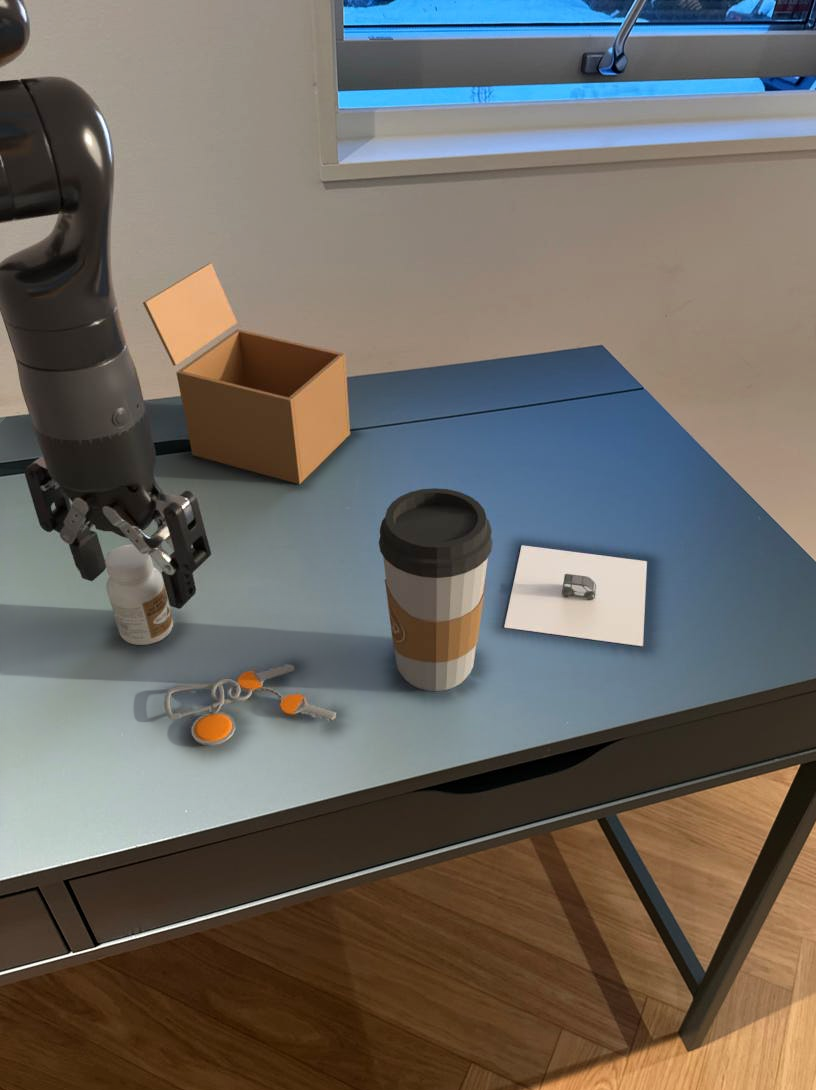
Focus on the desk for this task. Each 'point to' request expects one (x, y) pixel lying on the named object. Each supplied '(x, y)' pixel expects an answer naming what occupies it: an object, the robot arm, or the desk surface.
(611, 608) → the white square mat
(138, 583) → the pill bottle
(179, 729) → the desk surface
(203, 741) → the key chain
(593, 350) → the desk surface
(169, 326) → the bin flap
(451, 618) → the coffee cup
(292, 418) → the carton
